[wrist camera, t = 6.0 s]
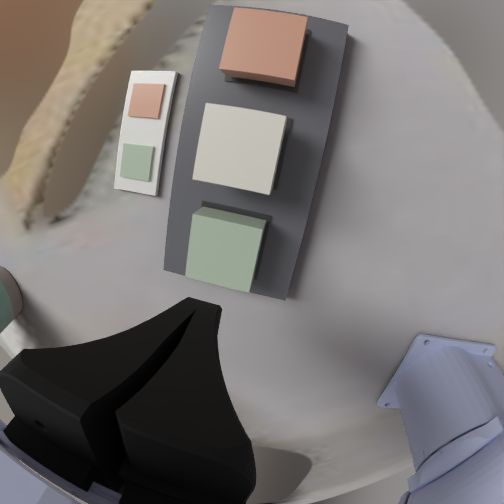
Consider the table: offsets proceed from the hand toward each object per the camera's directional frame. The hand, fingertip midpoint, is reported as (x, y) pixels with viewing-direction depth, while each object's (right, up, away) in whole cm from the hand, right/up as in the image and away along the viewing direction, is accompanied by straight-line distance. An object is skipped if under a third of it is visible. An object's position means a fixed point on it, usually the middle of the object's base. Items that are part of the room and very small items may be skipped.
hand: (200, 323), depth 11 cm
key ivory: (+2, +8, +3) cm, 9 cm away
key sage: (+1, +3, +6) cm, 7 cm away
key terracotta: (+3, +13, +2) cm, 14 cm away
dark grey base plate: (+2, +9, +6) cm, 11 cm away
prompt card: (-5, +10, +6) cm, 13 cm away
